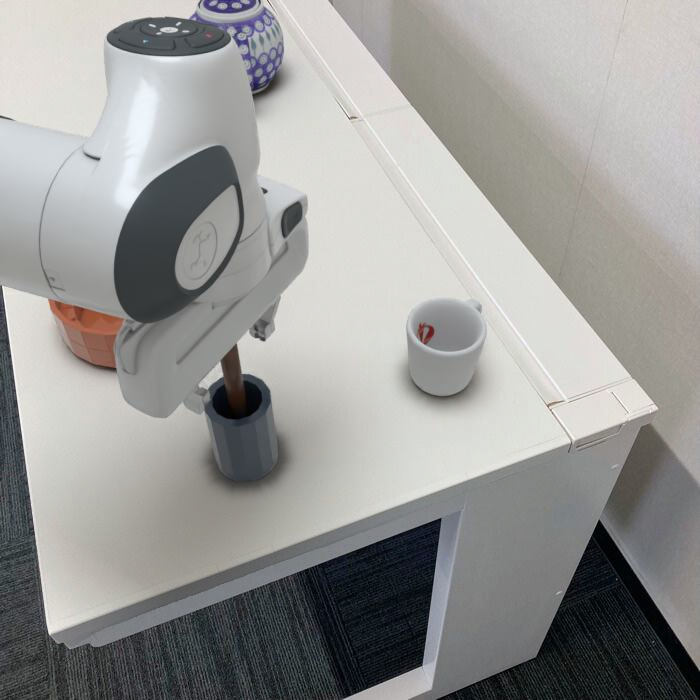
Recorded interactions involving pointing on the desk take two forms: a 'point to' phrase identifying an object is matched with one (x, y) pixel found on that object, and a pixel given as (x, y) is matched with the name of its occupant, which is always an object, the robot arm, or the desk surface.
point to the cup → (444, 344)
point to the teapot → (248, 35)
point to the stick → (234, 384)
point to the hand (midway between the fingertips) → (231, 368)
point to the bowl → (87, 332)
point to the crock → (243, 431)
